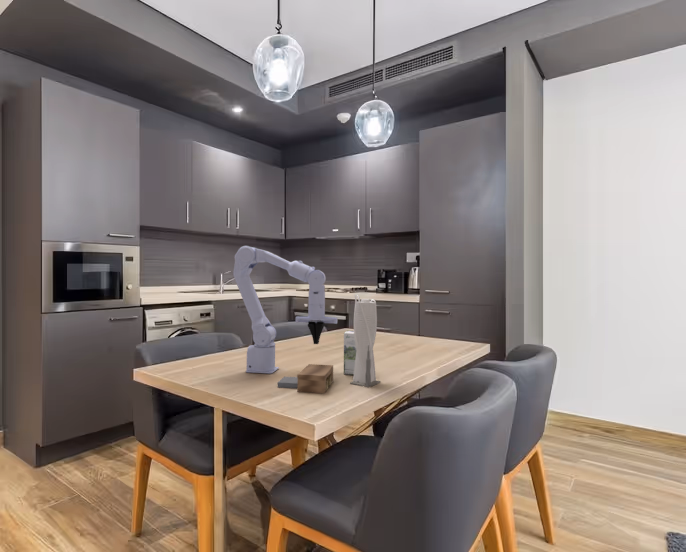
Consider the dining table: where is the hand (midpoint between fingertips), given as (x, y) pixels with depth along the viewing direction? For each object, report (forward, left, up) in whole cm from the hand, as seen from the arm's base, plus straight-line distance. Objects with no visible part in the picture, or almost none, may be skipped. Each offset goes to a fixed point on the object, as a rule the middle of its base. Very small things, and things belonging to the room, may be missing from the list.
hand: (316, 343), depth 141 cm
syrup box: (+13, +1, -10) cm, 16 cm away
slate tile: (-1, -17, -10) cm, 20 cm away
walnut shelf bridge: (+4, -17, -10) cm, 20 cm away
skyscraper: (+18, -10, -10) cm, 23 cm away
